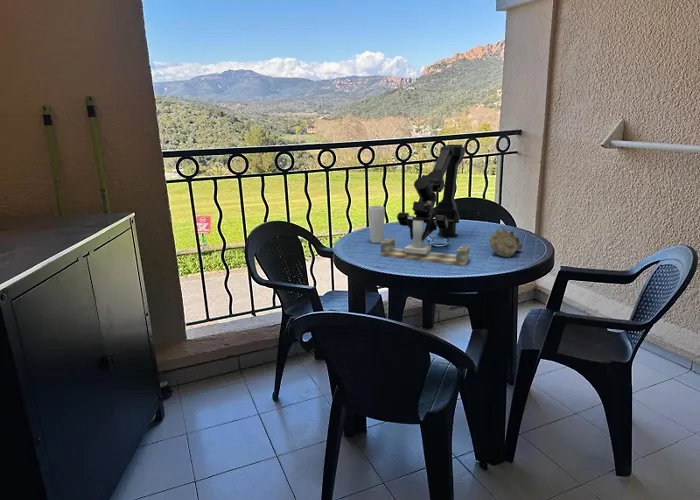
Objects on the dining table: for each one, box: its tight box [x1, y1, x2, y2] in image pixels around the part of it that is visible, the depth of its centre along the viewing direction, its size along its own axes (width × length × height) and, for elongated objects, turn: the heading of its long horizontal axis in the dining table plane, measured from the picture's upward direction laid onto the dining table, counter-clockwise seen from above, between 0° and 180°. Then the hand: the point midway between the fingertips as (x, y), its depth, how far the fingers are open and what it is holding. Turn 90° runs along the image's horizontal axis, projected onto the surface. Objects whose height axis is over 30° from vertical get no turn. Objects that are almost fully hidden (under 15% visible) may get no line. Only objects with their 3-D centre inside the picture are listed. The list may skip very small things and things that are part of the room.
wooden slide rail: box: [379, 237, 471, 267], centre depth 164 cm, size 32×8×6 cm, turn 63°
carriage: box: [404, 220, 432, 254], centre depth 163 cm, size 8×7×12 cm
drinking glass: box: [367, 205, 386, 244], centre depth 185 cm, size 7×7×15 cm
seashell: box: [488, 227, 523, 258], centre depth 166 cm, size 11×14×10 cm
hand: (416, 239), depth 162 cm, fingers closed on carriage, 4 cm apart
